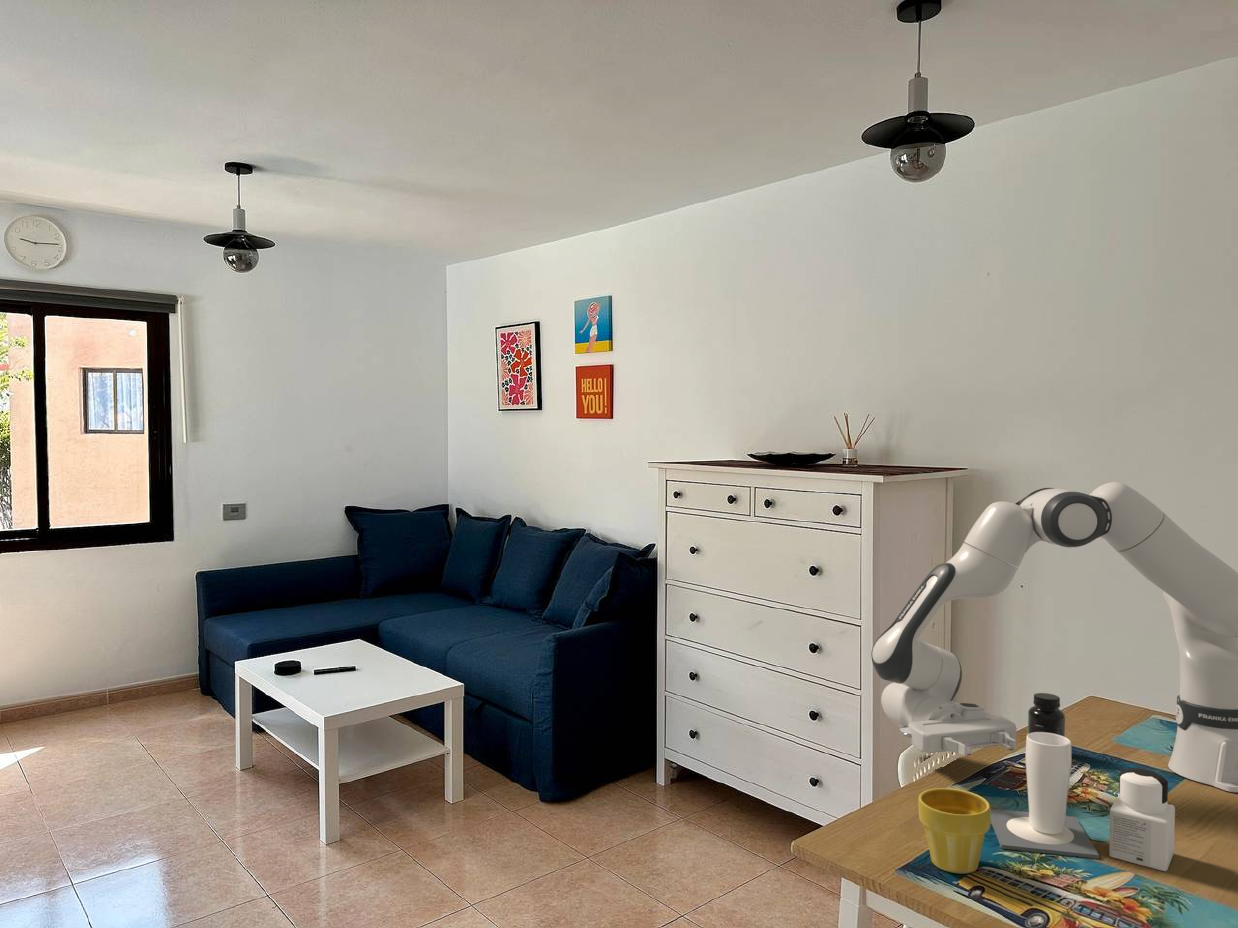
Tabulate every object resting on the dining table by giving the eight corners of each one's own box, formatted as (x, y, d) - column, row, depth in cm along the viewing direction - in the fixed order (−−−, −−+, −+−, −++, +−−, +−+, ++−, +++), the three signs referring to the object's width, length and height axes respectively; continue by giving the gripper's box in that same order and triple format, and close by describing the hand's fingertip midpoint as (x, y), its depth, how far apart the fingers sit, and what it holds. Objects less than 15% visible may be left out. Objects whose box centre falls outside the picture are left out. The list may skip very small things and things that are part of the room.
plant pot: (903, 855, 136) (903, 793, 136) (953, 842, 140) (954, 782, 140) (953, 886, 127) (953, 819, 127) (1005, 871, 131) (1006, 807, 131)
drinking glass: (1075, 839, 140) (1078, 747, 140) (1031, 836, 141) (1033, 744, 141) (1061, 821, 147) (1063, 732, 146) (1018, 817, 148) (1020, 730, 148)
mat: (1075, 820, 149) (1075, 816, 149) (1099, 858, 135) (1099, 854, 135) (986, 811, 152) (987, 808, 152) (1001, 848, 139) (1001, 844, 138)
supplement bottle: (1020, 751, 181) (1021, 694, 181) (1041, 745, 185) (1042, 689, 184) (1050, 762, 175) (1051, 702, 175) (1071, 756, 178) (1072, 698, 178)
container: (1118, 839, 142) (1119, 760, 141) (1174, 853, 137) (1176, 771, 136) (1108, 857, 136) (1110, 774, 135) (1166, 872, 131) (1168, 787, 130)
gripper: (894, 711, 165) (940, 736, 152) (986, 703, 171) (1038, 725, 157) (894, 744, 165) (939, 772, 152) (985, 735, 171) (1037, 760, 158)
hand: (990, 748), depth 155 cm, fingers open, 8 cm apart
